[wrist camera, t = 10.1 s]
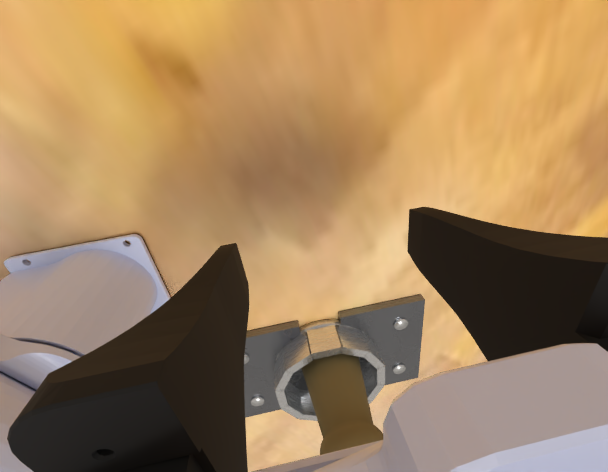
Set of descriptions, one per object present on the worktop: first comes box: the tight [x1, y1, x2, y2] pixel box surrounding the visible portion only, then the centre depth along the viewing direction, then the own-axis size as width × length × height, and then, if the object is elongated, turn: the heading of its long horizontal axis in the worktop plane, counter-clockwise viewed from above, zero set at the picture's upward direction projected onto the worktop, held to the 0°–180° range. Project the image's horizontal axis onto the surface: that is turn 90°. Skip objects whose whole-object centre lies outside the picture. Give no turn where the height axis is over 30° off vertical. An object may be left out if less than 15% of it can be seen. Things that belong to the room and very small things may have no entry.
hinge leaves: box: [244, 294, 425, 421], centre depth 29 cm, size 21×12×4 cm, turn 98°
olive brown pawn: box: [302, 354, 383, 455], centre depth 24 cm, size 6×6×11 cm
